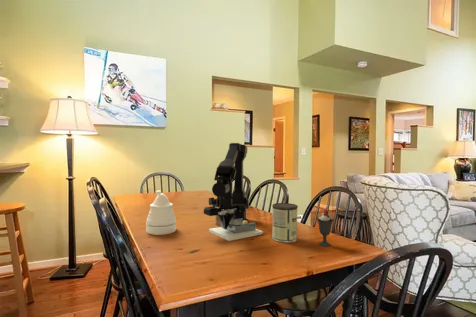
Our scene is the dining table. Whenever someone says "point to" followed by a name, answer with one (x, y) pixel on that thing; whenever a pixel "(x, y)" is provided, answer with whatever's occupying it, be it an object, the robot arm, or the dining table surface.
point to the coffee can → (284, 222)
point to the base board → (233, 236)
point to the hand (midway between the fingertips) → (225, 229)
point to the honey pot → (161, 216)
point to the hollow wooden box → (218, 220)
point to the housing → (239, 226)
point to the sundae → (325, 227)
